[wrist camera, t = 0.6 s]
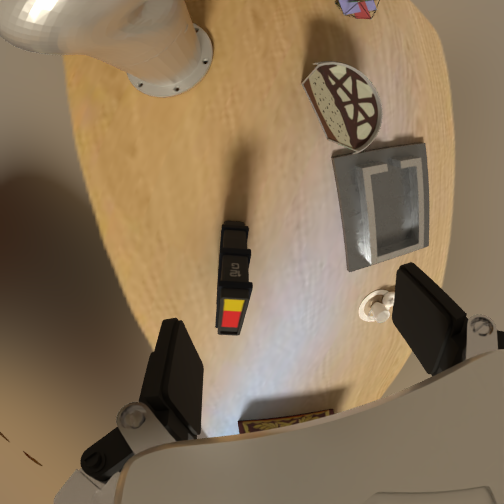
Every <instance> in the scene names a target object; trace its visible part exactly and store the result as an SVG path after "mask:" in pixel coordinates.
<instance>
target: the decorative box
mask: <svg viewBox="0 0 504 504" xmlns="http://www.w3.org/2000/svg"><path fill="white" fill-rule="evenodd" d="M333 414H334V412H333V409H329V410H323V411H318V412H312V413H306V414H300V415H293V416H286V417H278V418H269V419H258V420H246V421H238V427H239V433H240V434H244V433H251V432H257V431H263V430H269V429H275V428H280V427H285V426H289V425H294V424H298V423H303V422H307V421H311V420H315V419H319V418H322V417H326V416H330V415H333Z"/></svg>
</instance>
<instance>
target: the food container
mask: <svg viewBox="0 0 504 504" xmlns="http://www.w3.org/2000/svg"><path fill="white" fill-rule="evenodd" d="M316 64H317V67H316V68H315V69H314V70H313V71H312V72H311V73H310V74H309V75H308V76H307V78H306V79H305V80H304V81H303V82H302V83H301V84H302V86H303V88H304V90H305V92H306V94H307V96H308V98H309V101H310V103H311V105H312V107H313V109H314V111H315V113H316V115H317V118H318V120H319V122H320V124H321V126H322V129H323V131H324V133H325V136H326V138H327V140H329V141H332V142H334V143H337V144H339V145H342V146H344V147H347V148H349V149H351V150H354V151H356V152H354V153H353V154H357V153H359V152H361V151H363V150H364V149H365V148H367V147H368V146H369V145H370V144H371V143H372V142H373V140H374V139H375V137H376V136H377V134H378V132H379V130H380V127H381V123H382V105H381V100H380V97H379V94H378V92H377V90H376V88H375V87H374V85H373V84H372V82H371V81H370V80H369V79H368V78H367V77H366V76H365V75H364V74H363V73H362V72H360V71H359V70H357V69H355V68H354V67H352V66H349V65H347V64H344V63H340V62H334V61H326V62H317V63H313V65H316Z"/></svg>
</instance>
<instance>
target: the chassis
mask: <svg viewBox="0 0 504 504" xmlns="http://www.w3.org/2000/svg"><path fill="white" fill-rule="evenodd" d="M331 158H332V163H333V169H334V174H335V180H336V186H337V192H338V198H339V205H340V212H341V219H342V227H343V235H344V243H345V252H346V262H347V270H348V271H349V272H352V271H355V270H358V269H361V268H365V267H368V266H371V265H374V264H377V263H380V262H383V261H386V260H389V259H392V258H395V257H398V256H401V255H404V254H407V253H410V252H413V251H416V250H419V249H422V248H424V247H427V246H429V183H428V168H427V156H426V146H425V143H422V142H421V143H413V144H406V145H399V146H393V147H386V148H380V149H374V150H368V151H363V152H359V153H357V154H353V153H352V154H347V155H341V156H336V157H331Z"/></svg>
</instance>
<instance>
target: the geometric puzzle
mask: <svg viewBox="0 0 504 504" xmlns="http://www.w3.org/2000/svg"><path fill="white" fill-rule="evenodd" d="M336 1H337V0H336ZM338 1H339V3H340V6H341V8H342V11H343V14H344V15H346V16H347V14H352V13H354V14H355V17H356V19H371V20H372V18H371V17H370V14H369V13H370V12H369V11H370V10H374V12H376V11H375V10H377V9H376V6H375V3H374V0H338ZM379 1H380V0H379ZM335 4H337V3H335ZM378 4H379V2H378ZM378 4H377V5H378ZM338 6H339V5H338ZM338 8H339V7H338ZM371 12H372V11H371ZM348 16H349V17H350V15H348ZM352 16H353V15H352ZM353 17H354V16H353ZM372 17H373V16H372Z"/></svg>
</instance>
